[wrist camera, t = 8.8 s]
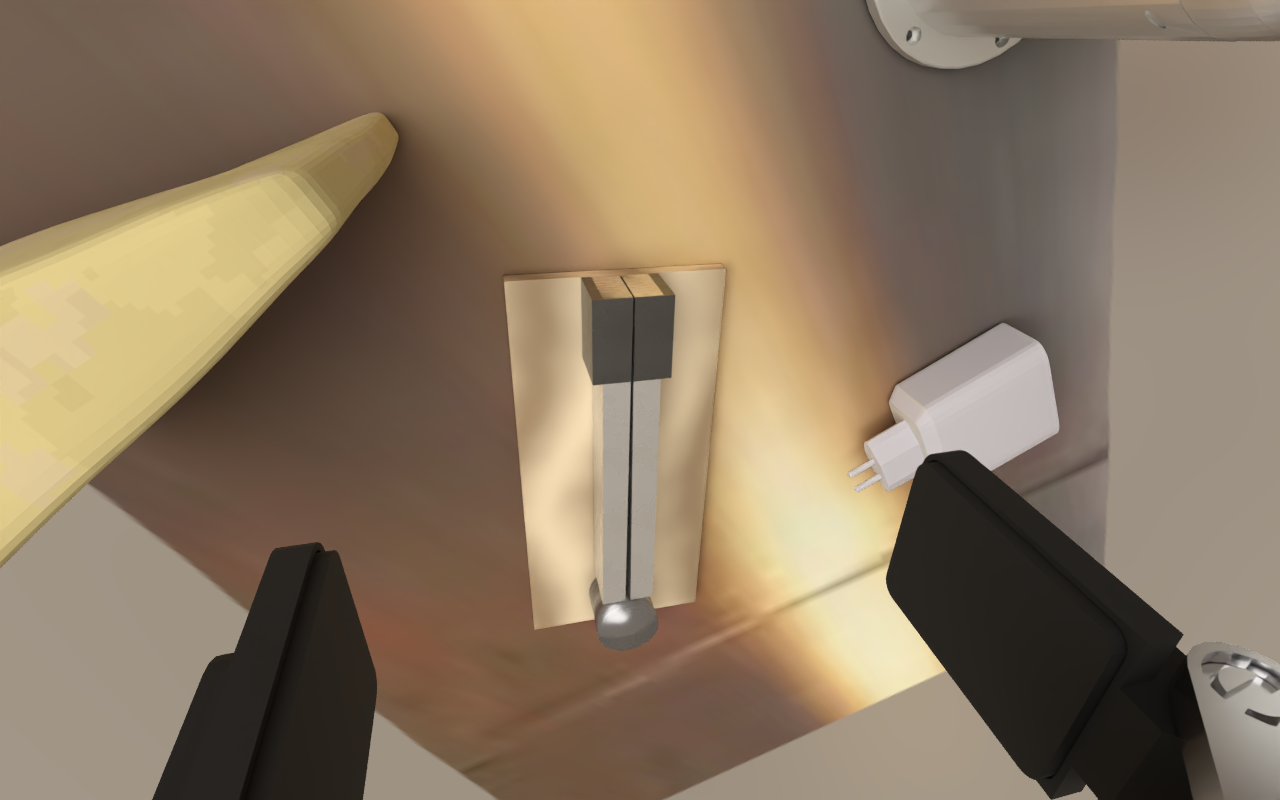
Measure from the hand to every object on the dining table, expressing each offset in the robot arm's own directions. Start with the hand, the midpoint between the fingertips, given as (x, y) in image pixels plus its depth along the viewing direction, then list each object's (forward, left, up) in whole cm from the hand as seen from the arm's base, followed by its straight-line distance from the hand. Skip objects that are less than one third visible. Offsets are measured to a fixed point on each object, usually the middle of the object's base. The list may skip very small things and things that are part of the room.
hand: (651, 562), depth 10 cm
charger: (-29, +18, -29) cm, 45 cm away
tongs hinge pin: (-5, +30, -27) cm, 40 cm away
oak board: (-5, +19, -28) cm, 34 cm away
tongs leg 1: (-4, +16, -27) cm, 32 cm away
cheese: (+16, +2, -28) cm, 32 cm away
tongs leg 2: (-7, +16, -27) cm, 32 cm away
